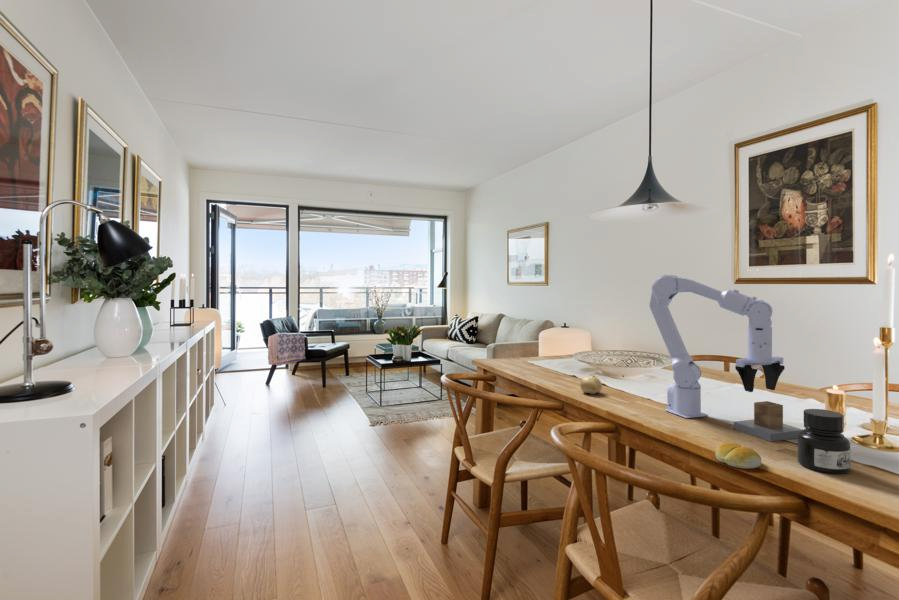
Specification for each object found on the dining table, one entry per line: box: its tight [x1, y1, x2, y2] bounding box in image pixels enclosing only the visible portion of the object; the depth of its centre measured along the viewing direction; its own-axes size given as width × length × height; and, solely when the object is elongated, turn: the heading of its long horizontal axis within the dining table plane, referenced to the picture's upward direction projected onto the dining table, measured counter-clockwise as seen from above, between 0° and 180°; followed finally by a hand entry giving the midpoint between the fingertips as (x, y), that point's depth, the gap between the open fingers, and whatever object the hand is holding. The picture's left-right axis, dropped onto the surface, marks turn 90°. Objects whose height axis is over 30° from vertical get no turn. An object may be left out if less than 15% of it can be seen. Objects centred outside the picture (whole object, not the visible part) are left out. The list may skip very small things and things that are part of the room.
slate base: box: [733, 418, 804, 443], centre depth 122 cm, size 11×11×2 cm
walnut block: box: [753, 400, 784, 429], centre depth 122 cm, size 4×4×6 cm
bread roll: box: [714, 442, 762, 470], centre depth 104 cm, size 8×9×4 cm
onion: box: [579, 373, 603, 395], centre depth 170 cm, size 8×8×7 cm
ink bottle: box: [797, 408, 851, 475], centre depth 99 cm, size 10×9×12 cm
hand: (759, 390), depth 129 cm, fingers open, 7 cm apart
